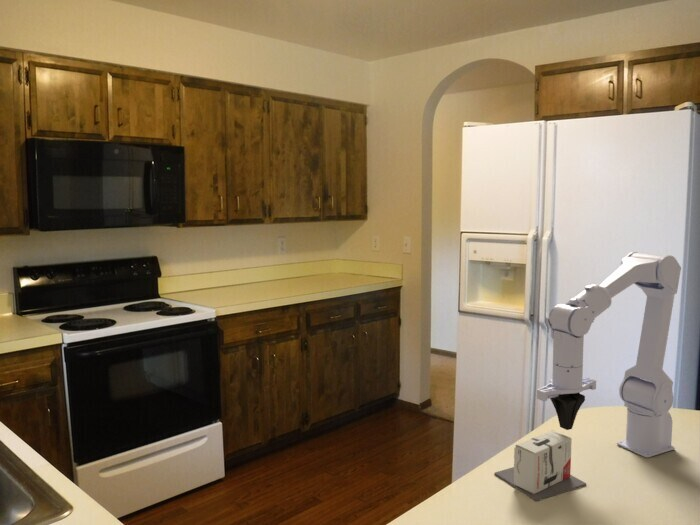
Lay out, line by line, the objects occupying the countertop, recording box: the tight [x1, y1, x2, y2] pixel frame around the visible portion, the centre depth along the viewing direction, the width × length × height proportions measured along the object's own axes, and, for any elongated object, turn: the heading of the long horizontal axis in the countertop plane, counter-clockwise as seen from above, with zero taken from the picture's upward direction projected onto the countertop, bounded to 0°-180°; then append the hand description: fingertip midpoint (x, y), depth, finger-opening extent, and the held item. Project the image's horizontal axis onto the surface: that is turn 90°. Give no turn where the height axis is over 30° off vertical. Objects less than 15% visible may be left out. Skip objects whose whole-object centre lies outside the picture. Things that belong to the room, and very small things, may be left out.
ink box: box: [513, 430, 572, 494], centre depth 117 cm, size 8×5×12 cm
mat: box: [494, 466, 587, 502], centre depth 119 cm, size 13×12×1 cm
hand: (565, 427), depth 121 cm, fingers closed
